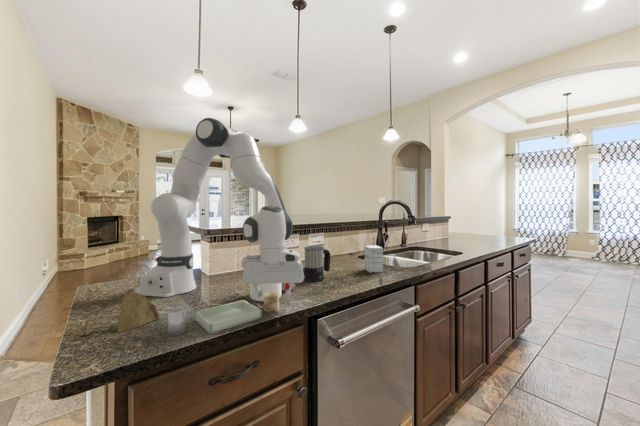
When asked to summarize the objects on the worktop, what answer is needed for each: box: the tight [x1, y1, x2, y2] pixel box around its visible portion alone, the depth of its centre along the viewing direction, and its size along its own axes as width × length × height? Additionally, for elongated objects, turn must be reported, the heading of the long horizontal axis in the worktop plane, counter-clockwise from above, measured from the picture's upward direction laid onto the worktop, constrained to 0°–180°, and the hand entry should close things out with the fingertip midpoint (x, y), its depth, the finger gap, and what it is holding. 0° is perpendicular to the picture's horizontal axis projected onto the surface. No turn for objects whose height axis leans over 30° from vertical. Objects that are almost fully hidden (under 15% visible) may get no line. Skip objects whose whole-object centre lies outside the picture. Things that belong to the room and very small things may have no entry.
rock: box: [117, 290, 161, 334], centre depth 84 cm, size 11×9×10 cm
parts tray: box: [194, 299, 263, 335], centre depth 88 cm, size 16×12×3 cm
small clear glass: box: [166, 308, 186, 336], centre depth 80 cm, size 4×4×6 cm
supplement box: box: [364, 245, 384, 274], centre depth 148 cm, size 7×7×13 cm
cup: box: [249, 283, 283, 302], centre depth 109 cm, size 12×12×12 cm
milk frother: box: [303, 245, 331, 283], centre depth 136 cm, size 14×16×15 cm
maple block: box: [263, 292, 280, 313], centre depth 96 cm, size 4×4×5 cm
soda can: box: [282, 283, 296, 292], centre depth 117 cm, size 7×7×13 cm
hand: (274, 295), depth 97 cm, fingers open, 8 cm apart
